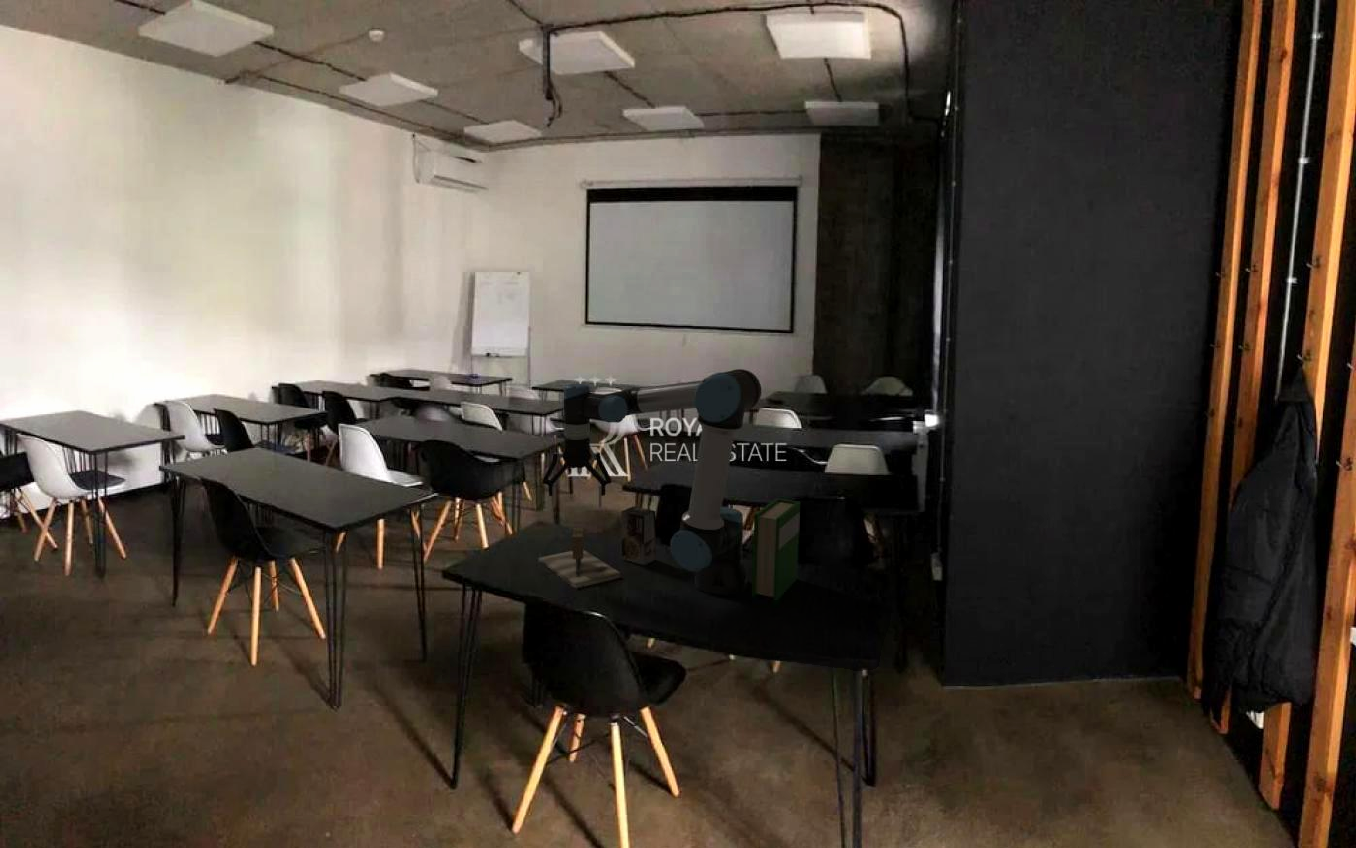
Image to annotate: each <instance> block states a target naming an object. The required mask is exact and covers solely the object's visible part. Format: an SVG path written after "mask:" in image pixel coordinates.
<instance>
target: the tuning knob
mask: <svg viewBox="0 0 1356 848" xmlns="http://www.w3.org/2000/svg"><path fill="white" fill-rule="evenodd" d="M584 544H585V543H584V527H573V528H572V551H573V559H576V574H579V570H580V565H581V559H583V551H585V549H584Z"/></svg>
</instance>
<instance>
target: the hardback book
mask: <svg viewBox="0 0 1356 848" xmlns="http://www.w3.org/2000/svg"><path fill="white" fill-rule="evenodd" d="M800 514H801V501H796V500H789V499H783V498H778V497H776V498H775V499H773V500H772V501H770V502H769V503H768V504H767V505H765V506H764V507H762V509H760V510H759V511H757V512H756V513H754V517H753V518H754V519H753V521H754V522H753V546H752V547H753V549H752V574H751V579H752V580H751V597H754V596H755V597H756V596H757V595H761V596H765V597H771V598H772V600H773V602H774V601H775V602H777V601H778V600H779V599H780V598H781V597H782V596H783V595H784V594H785V593H786V591H788V590H789V588H791V586H792V585H793V584H794V583H795V582H796V581H797V580H798V564H799V563H798V562H799V560H798V559H799V537H800V520H801V519H800V518H801V516H800ZM756 594H757V595H756Z"/></svg>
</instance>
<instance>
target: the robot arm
mask: <svg viewBox="0 0 1356 848" xmlns="http://www.w3.org/2000/svg"><path fill="white" fill-rule="evenodd" d="M563 388H564V389H563V399H562V401H563V418H564V419H563V436H564V438H563V450H564V451H563V453H559V452H558V451H554V452H553V456H552V460H551V463H550V465H549V467H548V468H547V470H546V473H545V475H544V477H543V479H542V484H543V485H547V486H548V496H549V497H552V508H553V509H555V508H556V506H557V505H556V503H557V500H556V499H557V493H556V491H557V490H556V486H557V485H556V482H557V481H558V480H559V478H561V476H562V475H563V473H564V472H565V471H567V469H569V468H571V469H576V468H577V469H583V468H585V469H586V470H587V471H589V473H590V474H591V475H592V476H593V477H594V478H595V479H596V480H597V482H598V508H602V497H603V496H604V497H605V495H606V485H608V484H609V485H610V484H611V483H612V478H611V475H610V474H609V472H608V470H607V468H606V466H605V464H604V463H603V460H602V459H601V458H602V457H601V452H600V451H596V452H593V453H591V447H590V444H591V443H590V441H591V438H590V437H589V436H590V434H591V433H590V432H591V431H590V430H591V429H590V427H591V423H590V421H591V420H592V421H593V420H594V421H600V422H605V423H610V424H612V423H615V424H617V423H620V422H623V420H624V419H625V418H626V417H627V416H632V415H640V414H647V413H657V412H668V411H677V410H678V411H679V410H680V411H681V410H686V409H687V410H688V409H696V412H697V414H698V417H697V422H698V423H699V425H700V426H701V428H702V429H701V435H700V439H699V445H698V452H697V457H696V458H697V459H696V463H695V470H694V475H693V482H692V488H691V494H690V499H689V500H690V501H689V506H688V510H687V511H685V512H684V513H683V514H682V515H681V521H680V525H679V530H678V531H676V532H675V534H674V535H673V536H672V538H671V540H670V544H669V545H670V552H671V554H672V557H673V558H674V559H675V562H676V563H677V564H678V565H679V566H680V567H681V568H682V569H686V570H687V571H688V570H689V571H691V572H692V571H693V572H695V571H697V572H696V574H695V576H694V585H695V586H694V587H696V589H697V590H699V591H702V592H703V593H706V594H711V595H715V596H716V595H717V596H730V595H736V594H740V593H741V592H743V591H745V590H746V589H747V586H748V578H747V574H746V571H745V568H744V564H743V559H742V558H743V537H744V536H743V535H744V534H743V533H744V515H743V513H742V512H741V511H740V510H739V509H736V508H733V507H728V506H723V502H724V495H725V490H726V483H727V479H728V475H729V474H728V473H729V469H730V461H731V458H732V457H731V456H732V450H733V446H734V439H735V434H736V433H737V432H738V431H740V430H742V427H743V422H744V418H745V417H744V416H745V413H747V412H749V411H751V410H752V409H754V408H755V407H756V406H757V404H758V403H759V402H760V400H761V396H762V385H761V383H760V380H759V379H758V377H757V376H756V375H755V374H754V373H753V372H752V371H750V370H748V369H744V368H743V369H740V368H737V369H733V370H729V371H724V372H722V371H721V372H716V373H712V374H711V375H709V376H707V377H705V378H704V379H701V380H692V381H686V382H678V383H670V384H664V385H663V384H662V385H655V386H645V387H632V388H628V389H623V390H620V391H616V392H610V393H605V394H602V393H601V394H599V393H594V392H591V388H590V385H588V384H585V383H569V384H566V385H565V386H564V387H563ZM561 458H562V459H563V460H564V463H563V465H562V466H560V468H559V469H558V470H557V471H556V473H555V474H553V476H552V477H551V479H550V476H551V474H552V473H553V471H554V468H555V467H556V465H557V463H558V461H560V460H561ZM592 458H593V460H594V461H596V463H597V465H598V467H599V469H600V471H601V473H602V475H603V477H604V478H605V479H604V478H603V477H602V475H600V473H599V472H598V471H597V470H596V469H595V468H594V466H593V465H592V464H591V463H590V460H591V459H592Z"/></svg>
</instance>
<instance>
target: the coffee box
mask: <svg viewBox="0 0 1356 848" xmlns="http://www.w3.org/2000/svg"><path fill="white" fill-rule="evenodd" d="M620 513H621V560H622V561H627V562H631V563H635V564H638V565H641V566H646V565H648V564H649V563H651V562H653V561H656V510H653V509H647V508H643V507H638V506H630V507H628V508H626V509H624V510H622V511H620Z"/></svg>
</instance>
